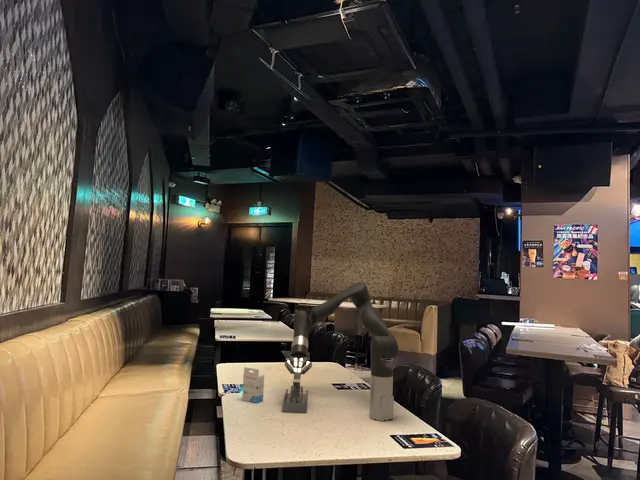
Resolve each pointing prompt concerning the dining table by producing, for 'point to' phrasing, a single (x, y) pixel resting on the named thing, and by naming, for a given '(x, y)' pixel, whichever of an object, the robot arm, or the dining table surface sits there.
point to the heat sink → (295, 401)
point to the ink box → (252, 385)
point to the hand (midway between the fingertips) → (296, 381)
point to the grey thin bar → (296, 384)
